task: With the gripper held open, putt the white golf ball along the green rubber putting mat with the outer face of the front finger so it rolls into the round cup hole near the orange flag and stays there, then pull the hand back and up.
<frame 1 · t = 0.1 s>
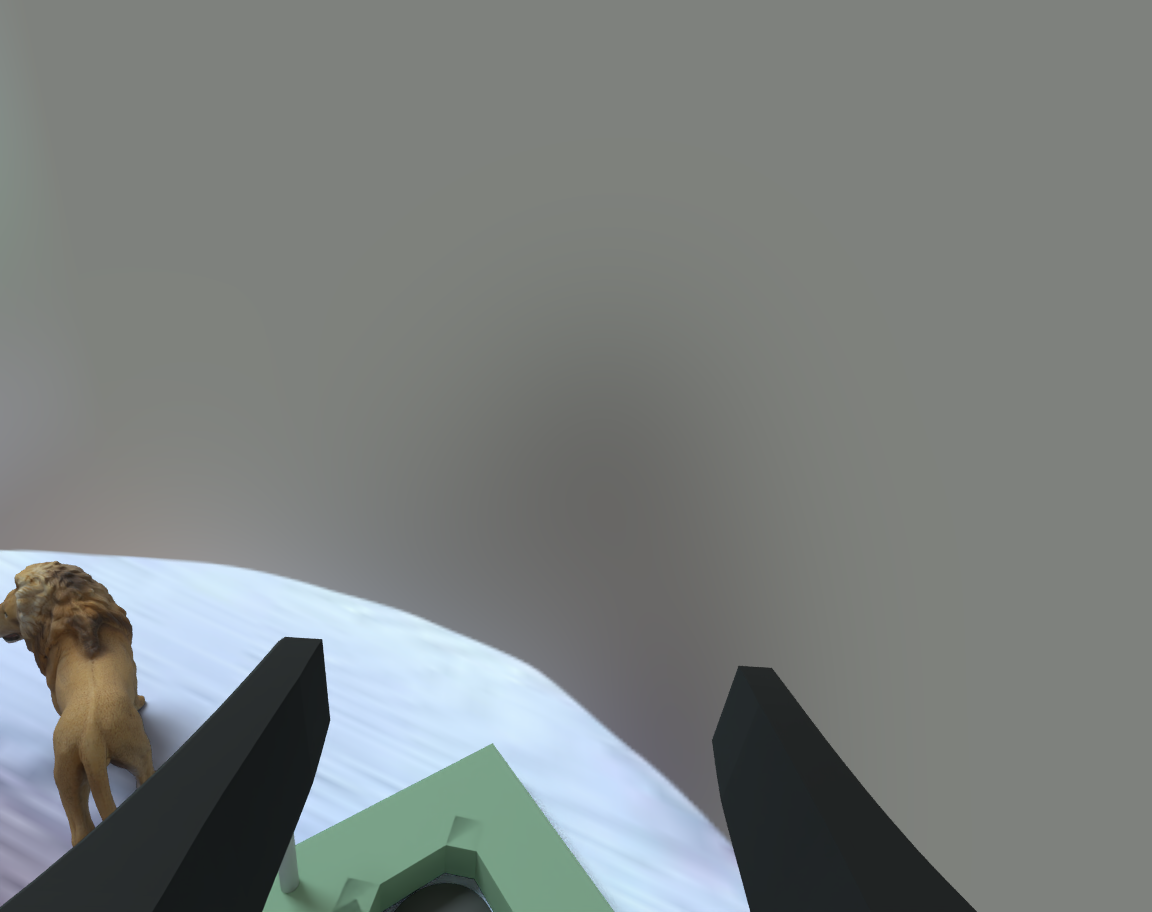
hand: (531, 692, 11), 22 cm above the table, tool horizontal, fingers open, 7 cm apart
lion figurine: (101, 765, 32), on the table
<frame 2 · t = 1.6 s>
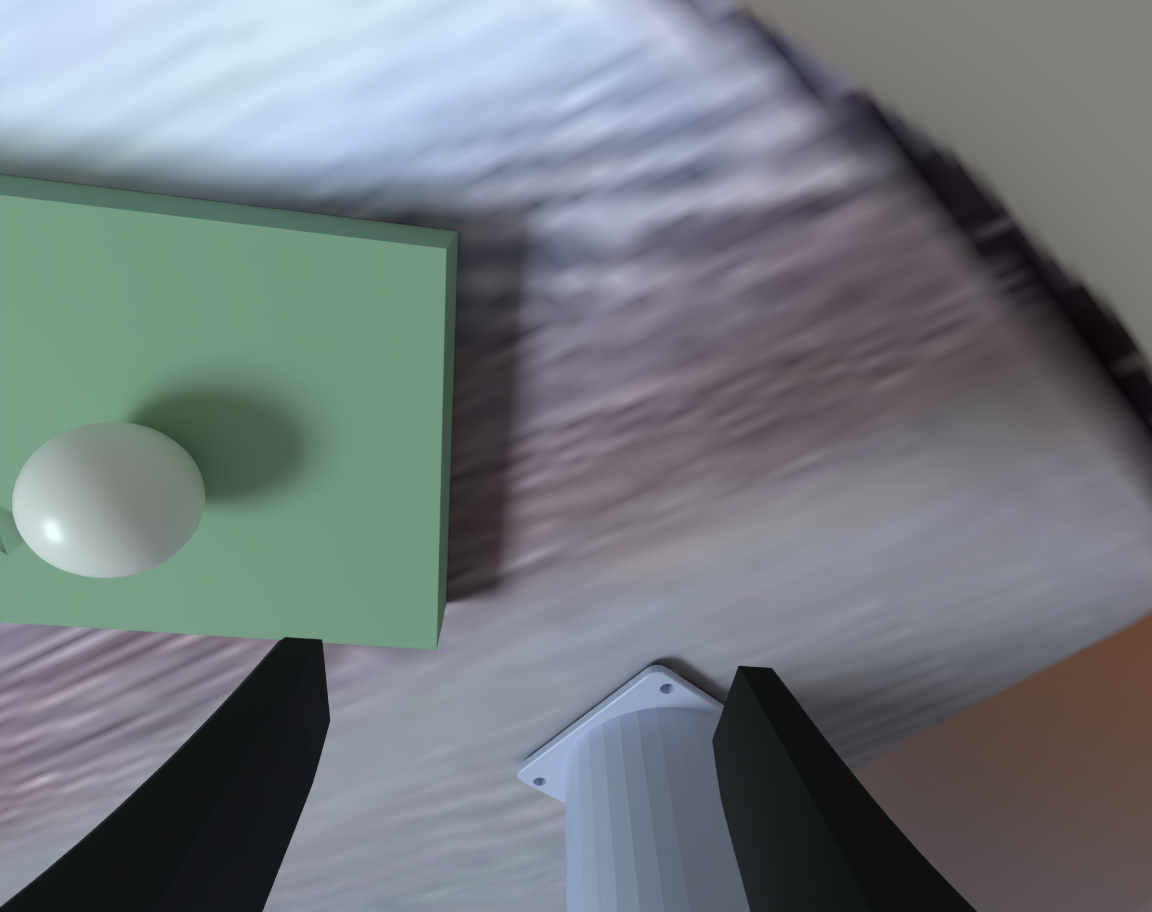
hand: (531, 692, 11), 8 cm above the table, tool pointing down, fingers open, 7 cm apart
putting mat: (81, 413, 17), on the table
golf ball: (115, 499, 14), point 4 cm above the table, touching putting mat
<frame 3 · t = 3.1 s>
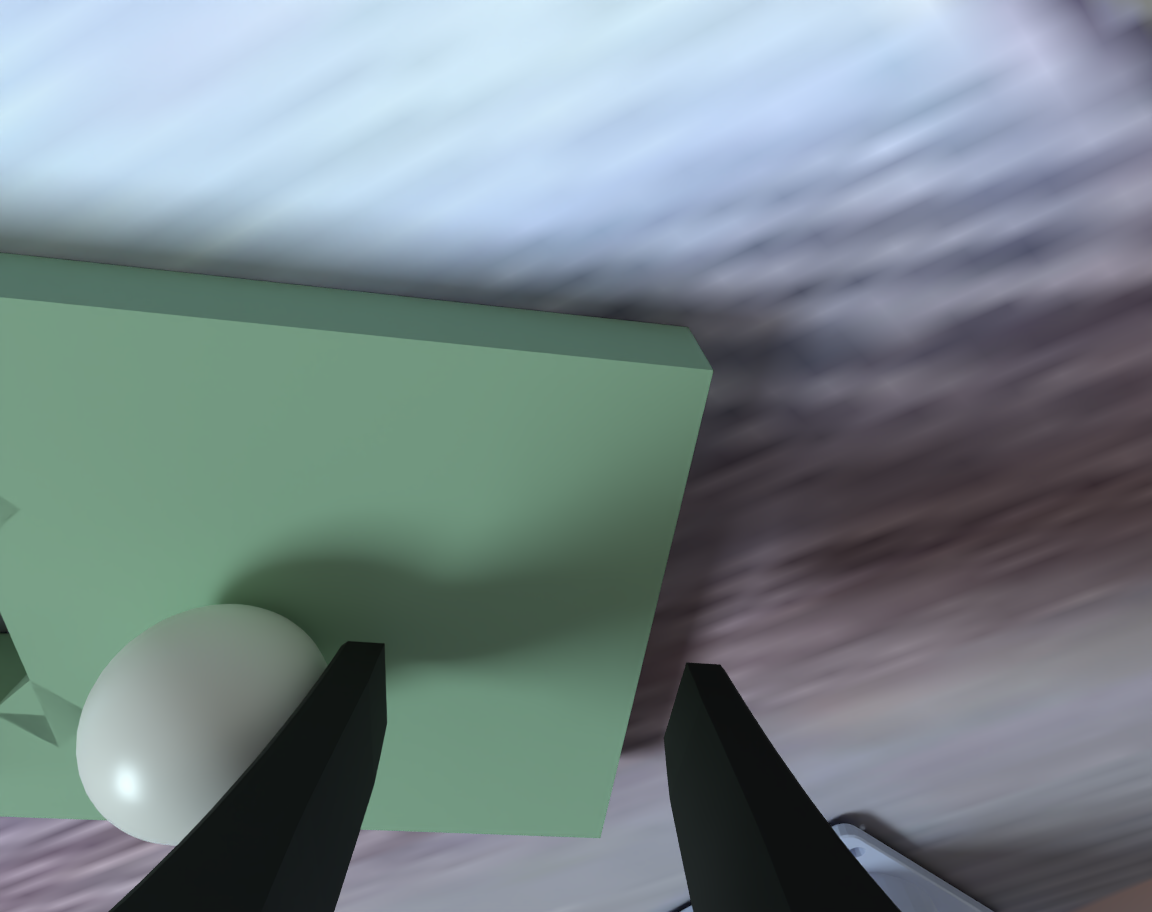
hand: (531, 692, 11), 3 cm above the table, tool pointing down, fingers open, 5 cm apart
putting mat: (154, 556, 13), on the table
golf ball: (215, 716, 10), point 4 cm above the table, touching gripper, putting mat
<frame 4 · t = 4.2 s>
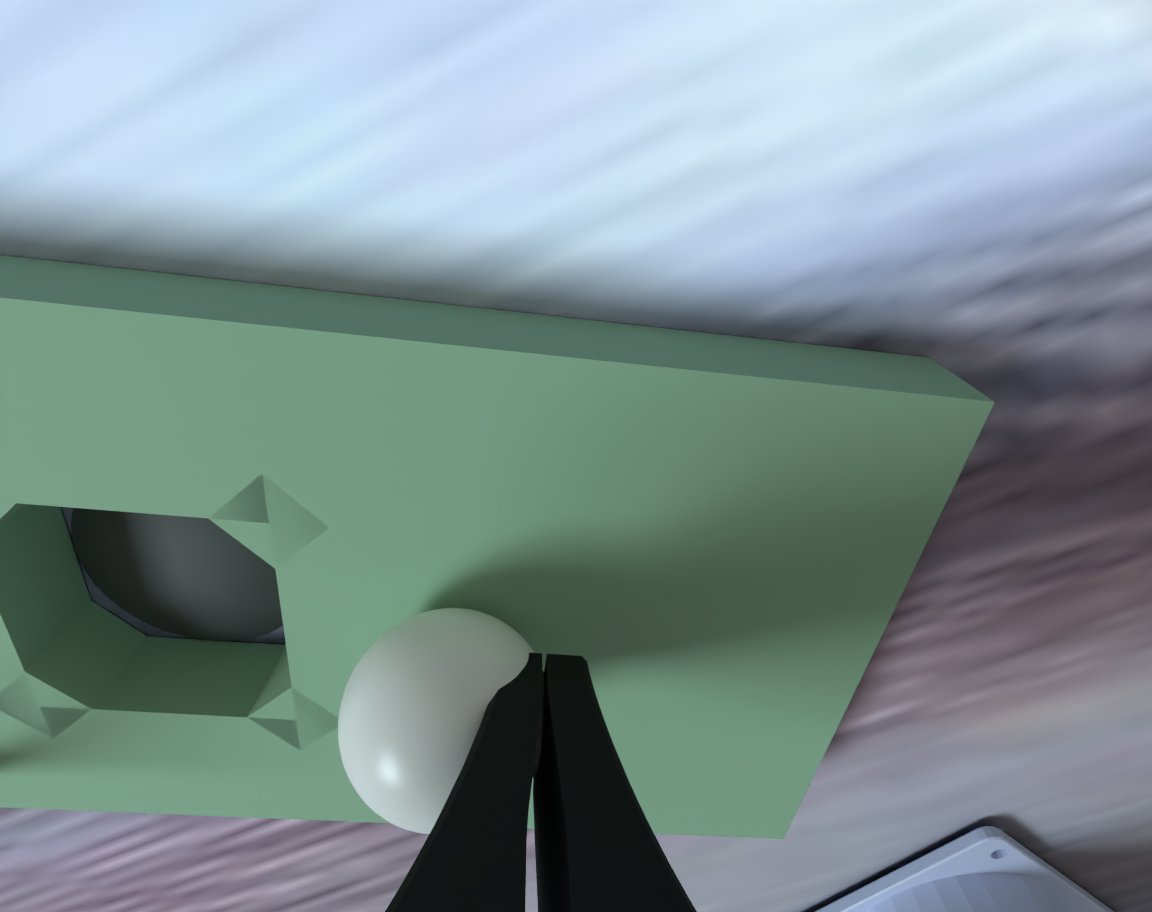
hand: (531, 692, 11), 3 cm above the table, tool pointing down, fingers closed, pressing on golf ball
putting mat: (389, 569, 14), on the table
golf ball: (448, 714, 11), point 4 cm above the table, tilted 40°, touching gripper, putting mat
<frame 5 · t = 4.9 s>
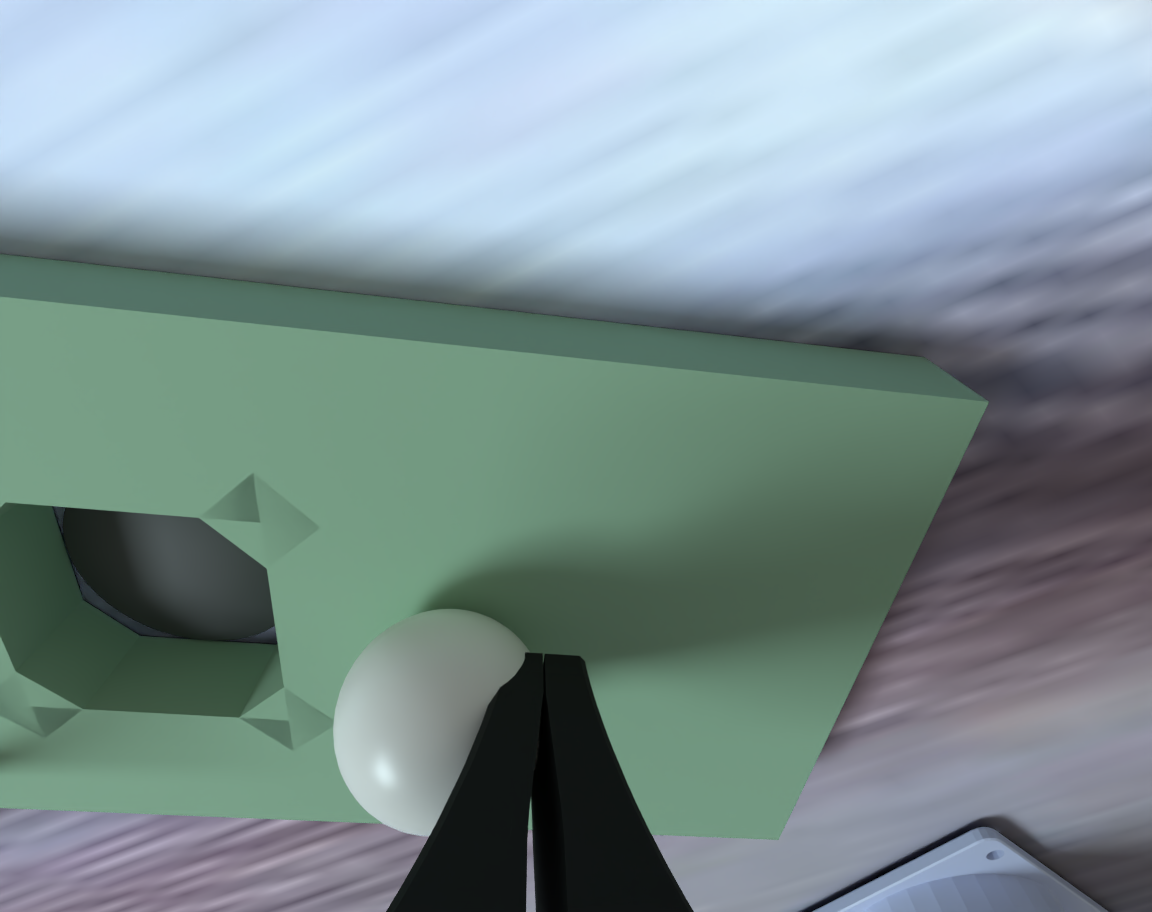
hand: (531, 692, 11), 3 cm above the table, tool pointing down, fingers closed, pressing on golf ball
putting mat: (382, 569, 14), on the table
golf ball: (444, 715, 11), point 4 cm above the table, tilted 38°, touching gripper, putting mat
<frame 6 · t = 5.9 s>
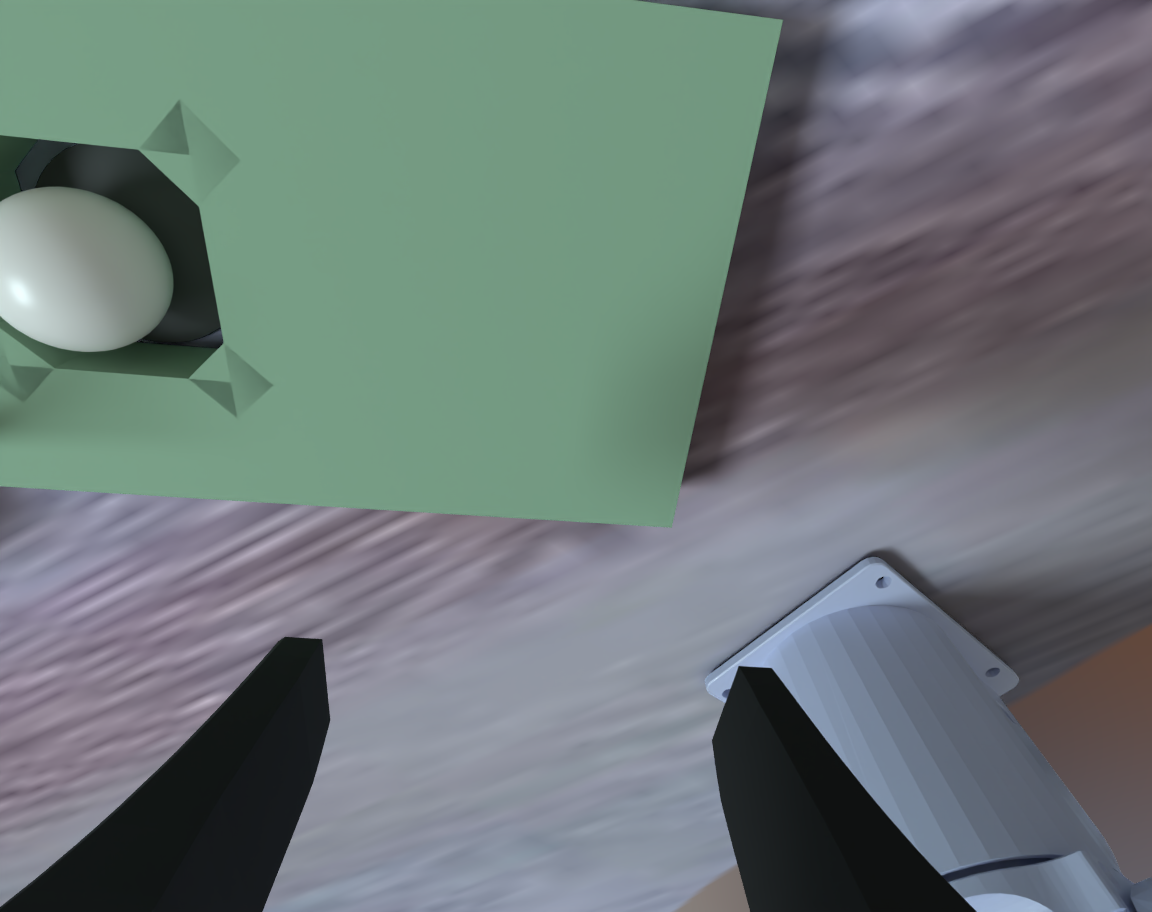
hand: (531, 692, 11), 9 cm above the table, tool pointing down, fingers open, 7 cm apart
putting mat: (310, 263, 16), on the table
golf ball: (80, 272, 14), point 2 cm above the table, tilted 98°, touching putting mat
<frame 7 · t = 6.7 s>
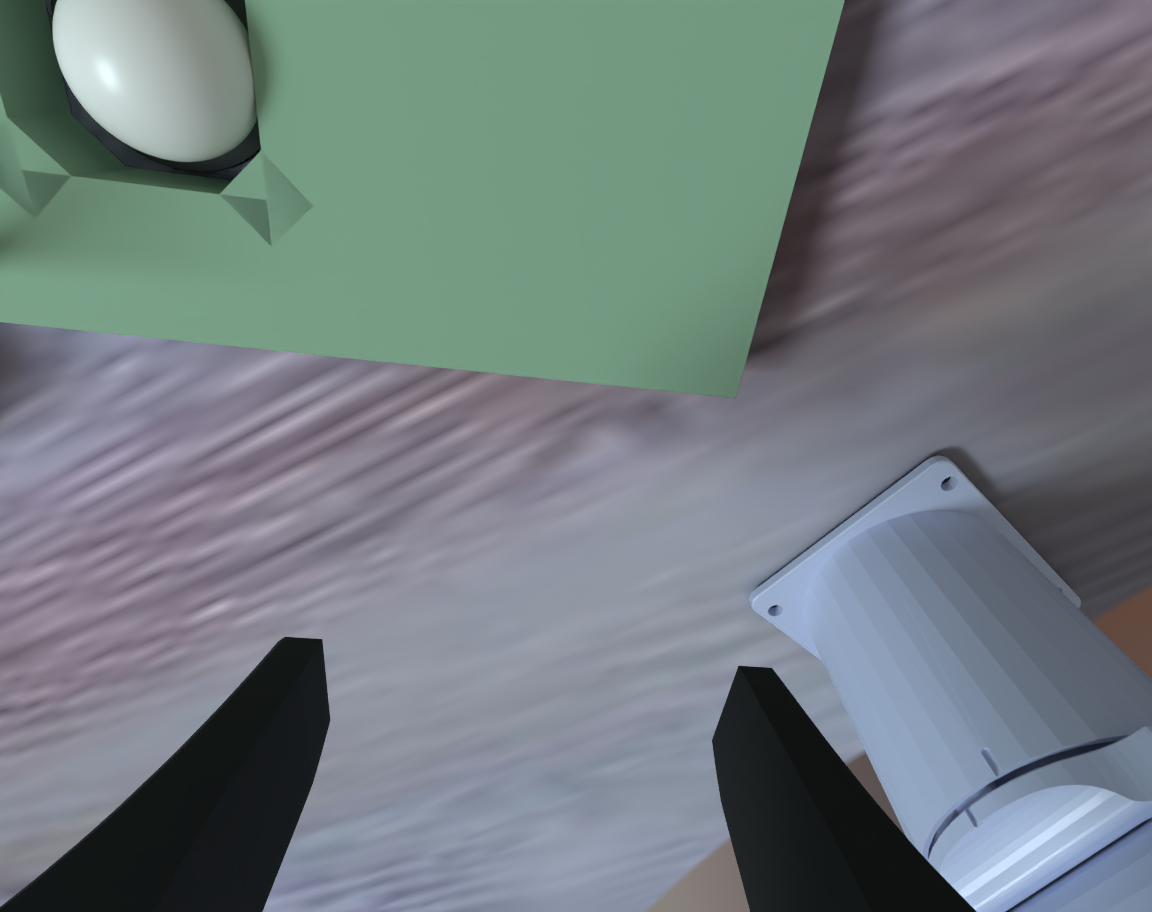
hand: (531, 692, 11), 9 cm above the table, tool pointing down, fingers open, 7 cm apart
putting mat: (356, 80, 14), on the table
golf ball: (165, 65, 13), point 2 cm above the table, tilted 136°, touching putting mat
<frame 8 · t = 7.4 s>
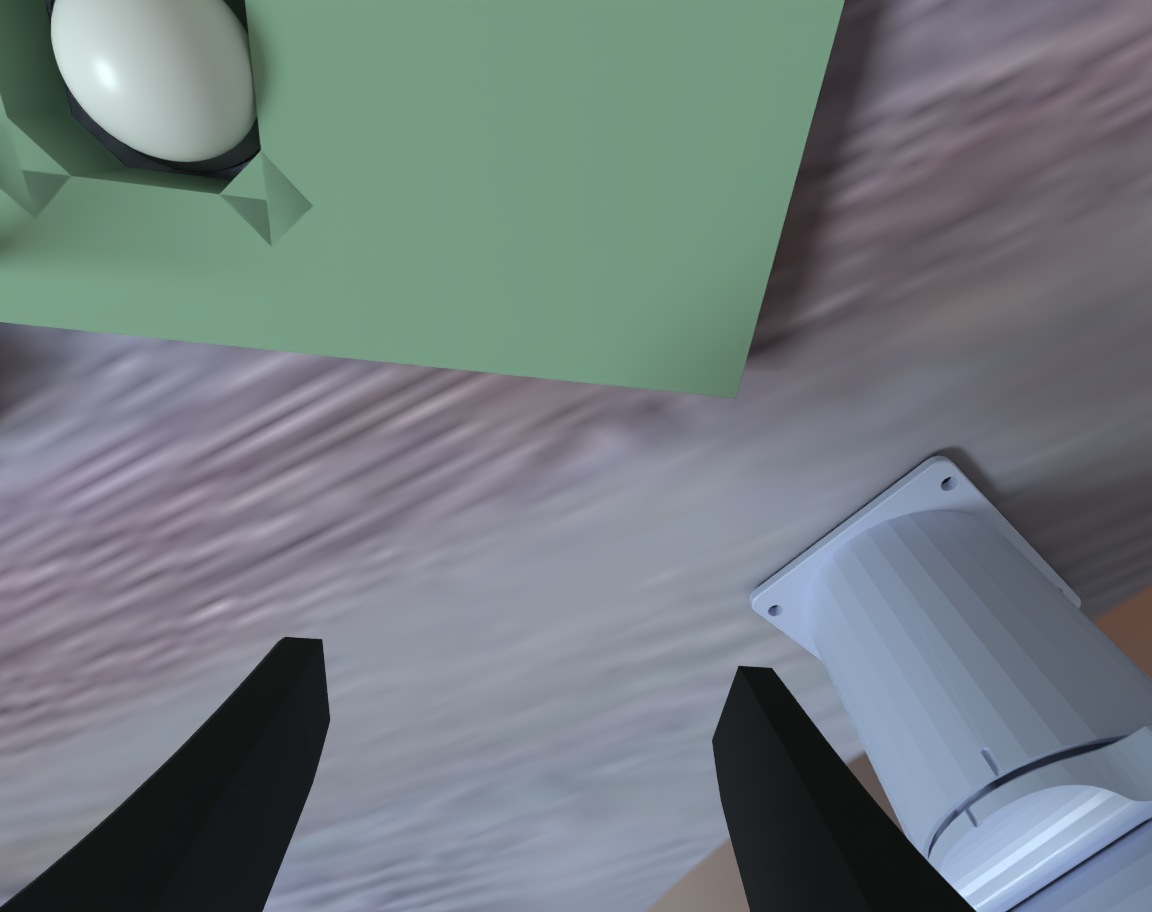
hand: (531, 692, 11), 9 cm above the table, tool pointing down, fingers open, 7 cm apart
putting mat: (356, 80, 14), on the table
golf ball: (164, 65, 13), point 2 cm above the table, tilted 135°, touching putting mat
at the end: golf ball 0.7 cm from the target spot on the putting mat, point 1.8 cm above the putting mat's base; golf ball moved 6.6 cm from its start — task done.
